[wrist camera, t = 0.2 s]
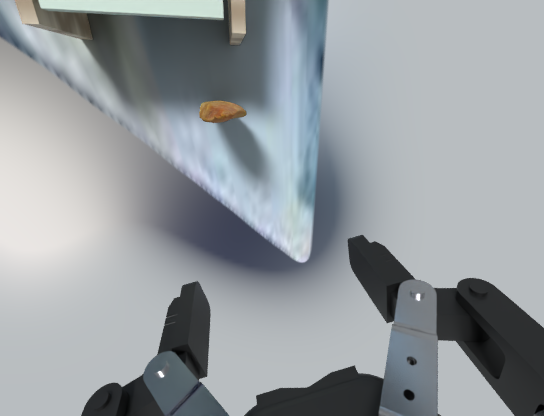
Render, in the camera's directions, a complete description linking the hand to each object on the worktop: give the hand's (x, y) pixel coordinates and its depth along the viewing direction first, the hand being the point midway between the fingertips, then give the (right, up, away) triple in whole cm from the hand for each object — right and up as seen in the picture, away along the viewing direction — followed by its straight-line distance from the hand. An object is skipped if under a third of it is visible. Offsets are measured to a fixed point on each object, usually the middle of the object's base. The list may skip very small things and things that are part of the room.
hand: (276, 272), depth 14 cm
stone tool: (-7, +17, +22) cm, 29 cm away
